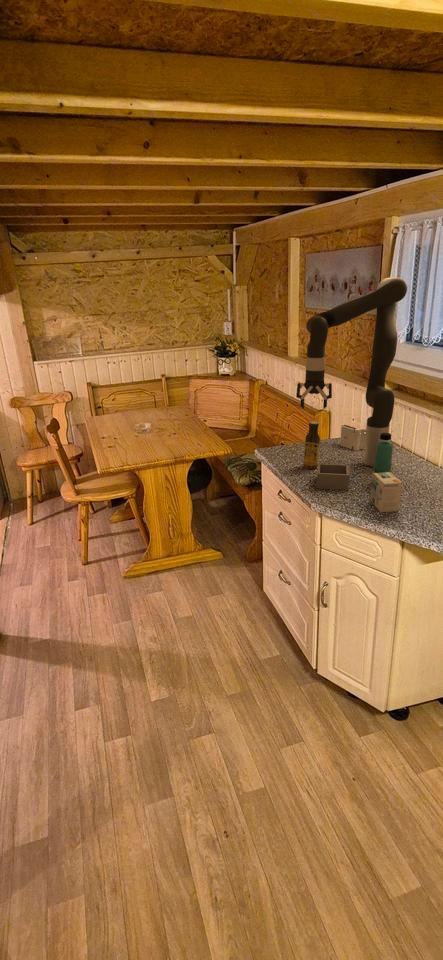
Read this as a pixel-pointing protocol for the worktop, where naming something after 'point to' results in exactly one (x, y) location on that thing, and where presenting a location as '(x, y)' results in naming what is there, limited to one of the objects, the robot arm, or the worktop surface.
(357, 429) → the hinge
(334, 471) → the bottle holder
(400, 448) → the worktop surface
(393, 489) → the light bulb box
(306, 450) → the sauce bottle
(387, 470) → the beverage bottle
